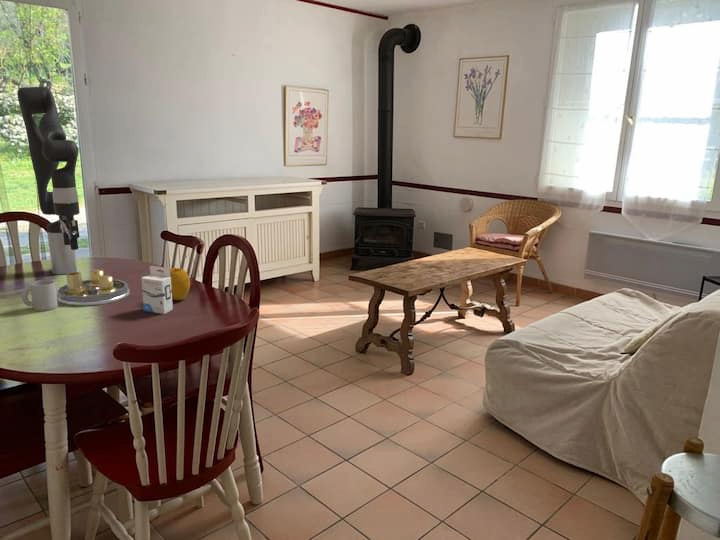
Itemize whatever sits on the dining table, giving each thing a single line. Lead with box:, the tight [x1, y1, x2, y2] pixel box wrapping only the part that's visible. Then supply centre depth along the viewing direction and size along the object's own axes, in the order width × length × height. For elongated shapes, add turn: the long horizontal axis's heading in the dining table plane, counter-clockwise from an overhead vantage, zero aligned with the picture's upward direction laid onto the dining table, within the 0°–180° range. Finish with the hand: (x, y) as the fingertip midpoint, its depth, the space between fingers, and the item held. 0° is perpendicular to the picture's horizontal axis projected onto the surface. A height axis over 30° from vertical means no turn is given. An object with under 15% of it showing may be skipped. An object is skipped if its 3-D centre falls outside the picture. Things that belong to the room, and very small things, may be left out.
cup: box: [21, 279, 59, 312], centre depth 182 cm, size 7×10×9 cm
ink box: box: [140, 265, 174, 315], centre depth 183 cm, size 8×5×15 cm, turn 73°
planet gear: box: [64, 271, 87, 296], centre depth 193 cm, size 7×7×8 cm
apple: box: [169, 267, 191, 301], centre depth 196 cm, size 10×10×12 cm
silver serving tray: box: [57, 269, 131, 307], centre depth 197 cm, size 24×24×8 cm
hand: (71, 247), depth 190 cm, fingers open, 8 cm apart
